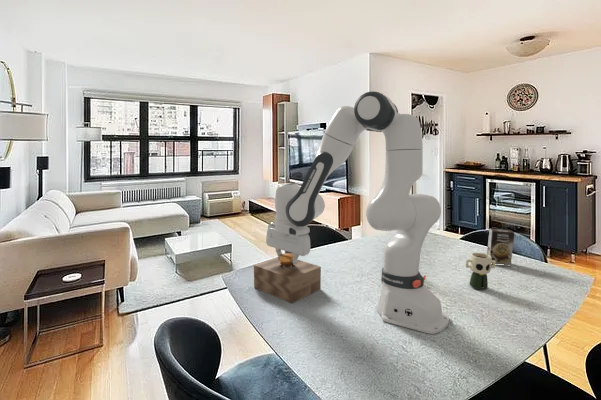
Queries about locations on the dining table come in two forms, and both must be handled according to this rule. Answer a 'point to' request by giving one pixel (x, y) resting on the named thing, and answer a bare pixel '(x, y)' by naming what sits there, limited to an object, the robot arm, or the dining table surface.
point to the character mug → (480, 269)
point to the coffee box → (500, 245)
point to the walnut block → (287, 279)
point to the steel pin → (286, 260)
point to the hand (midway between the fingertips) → (287, 261)
